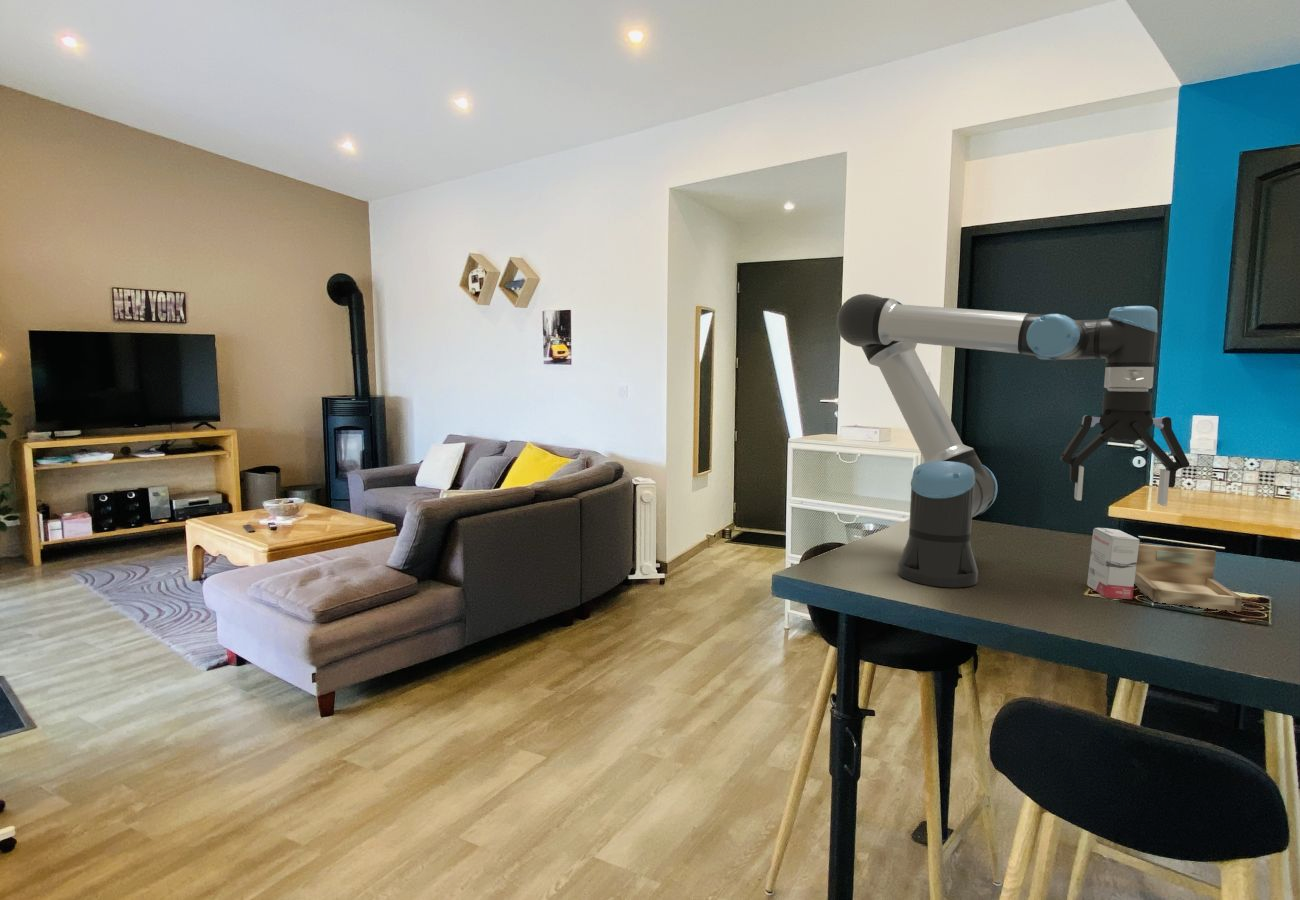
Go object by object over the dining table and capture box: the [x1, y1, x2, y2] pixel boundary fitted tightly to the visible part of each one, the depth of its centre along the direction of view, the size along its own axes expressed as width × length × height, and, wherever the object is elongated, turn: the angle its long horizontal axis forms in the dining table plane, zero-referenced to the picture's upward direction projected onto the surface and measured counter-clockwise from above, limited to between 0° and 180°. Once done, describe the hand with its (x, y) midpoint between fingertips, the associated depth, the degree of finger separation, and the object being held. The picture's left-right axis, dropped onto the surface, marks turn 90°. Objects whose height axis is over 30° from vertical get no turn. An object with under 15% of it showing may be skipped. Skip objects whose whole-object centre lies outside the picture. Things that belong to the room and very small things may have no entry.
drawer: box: [1134, 543, 1243, 613], centre depth 130 cm, size 13×14×8 cm
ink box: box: [1086, 527, 1141, 600], centre depth 131 cm, size 9×5×12 cm, turn 168°
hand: (1119, 502), depth 130 cm, fingers open, 13 cm apart
